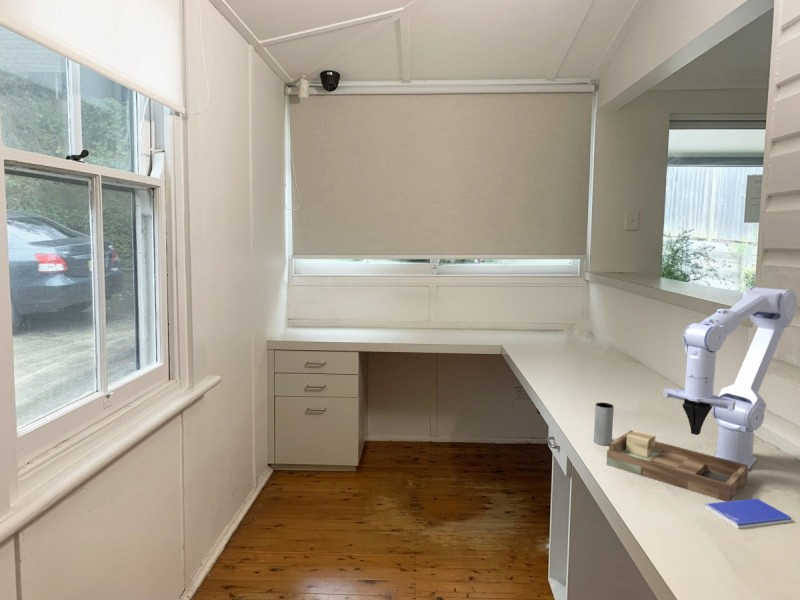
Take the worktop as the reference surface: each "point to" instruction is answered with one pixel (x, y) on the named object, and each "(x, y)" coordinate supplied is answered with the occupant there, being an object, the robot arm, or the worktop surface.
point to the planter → (603, 423)
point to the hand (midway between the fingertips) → (695, 433)
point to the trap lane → (681, 468)
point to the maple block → (640, 443)
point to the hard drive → (748, 513)
